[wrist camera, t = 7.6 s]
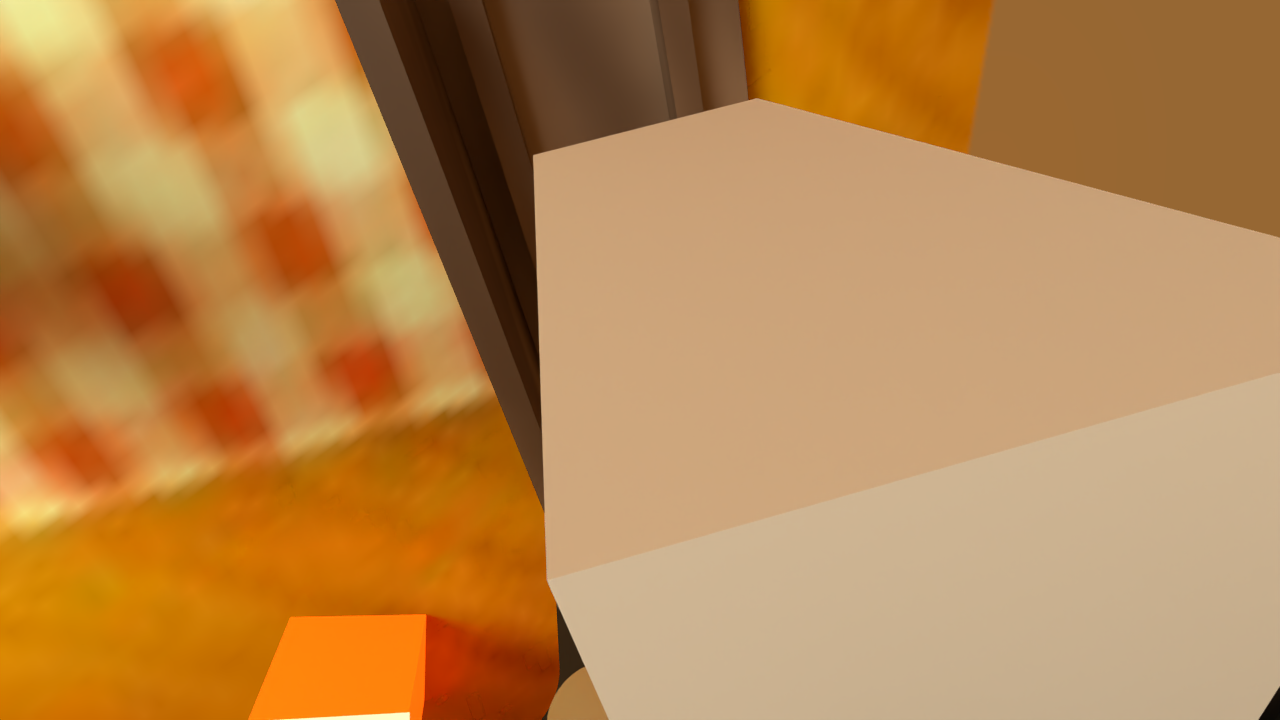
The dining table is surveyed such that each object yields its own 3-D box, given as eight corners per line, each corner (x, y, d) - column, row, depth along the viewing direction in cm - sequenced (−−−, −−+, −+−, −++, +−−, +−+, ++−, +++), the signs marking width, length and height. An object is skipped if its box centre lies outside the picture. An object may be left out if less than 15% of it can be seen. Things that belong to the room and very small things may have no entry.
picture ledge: (555, 449, 31) (563, 558, 25) (377, -37, 20) (305, -73, 13) (769, 391, 32) (831, 481, 25) (712, -116, 20) (798, -187, 14)
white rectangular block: (812, 554, 16) (1073, 1034, 8) (663, 597, 16) (790, 1126, 8) (773, 94, 10) (1589, 285, 2) (533, 155, 10) (548, 580, 2)
